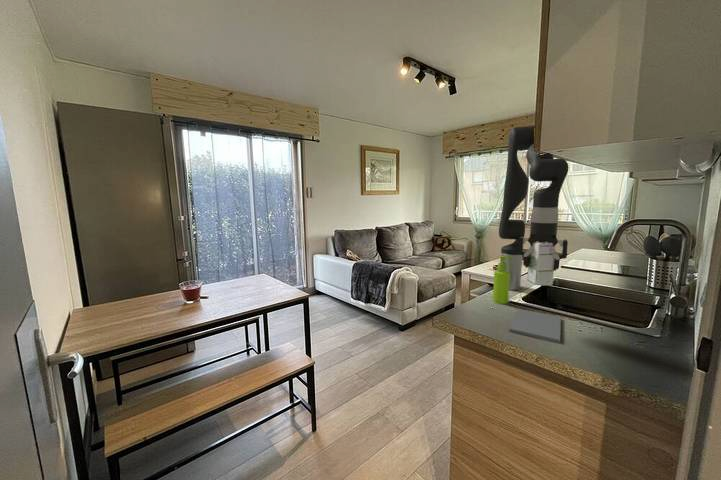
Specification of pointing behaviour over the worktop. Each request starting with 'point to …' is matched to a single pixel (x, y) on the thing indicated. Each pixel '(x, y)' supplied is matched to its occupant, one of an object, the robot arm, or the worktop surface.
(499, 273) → the soap dispenser
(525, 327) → the slate mat
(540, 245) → the syrup box
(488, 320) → the worktop surface
